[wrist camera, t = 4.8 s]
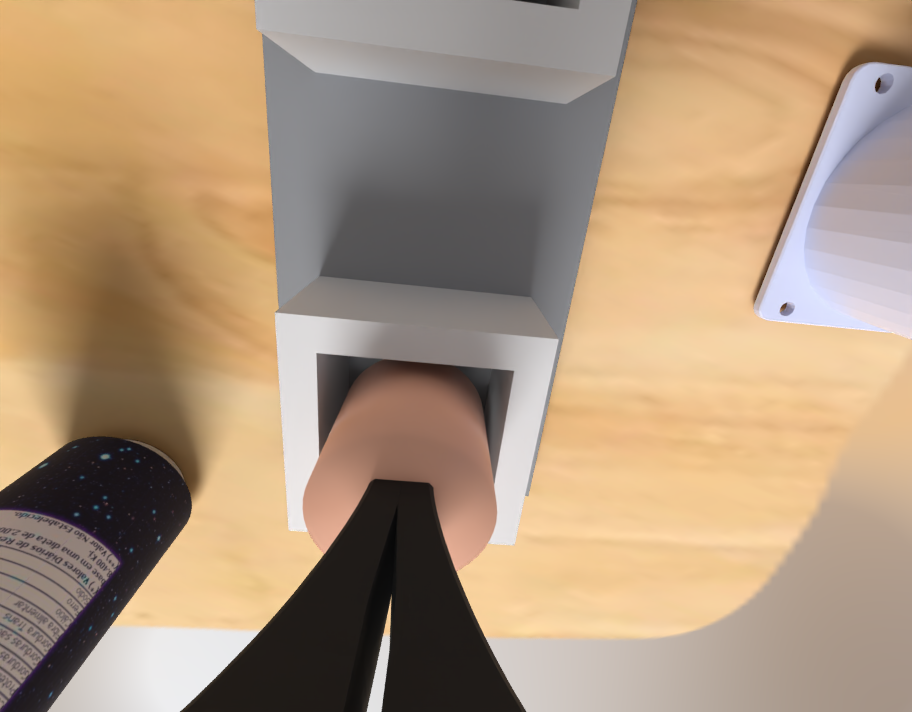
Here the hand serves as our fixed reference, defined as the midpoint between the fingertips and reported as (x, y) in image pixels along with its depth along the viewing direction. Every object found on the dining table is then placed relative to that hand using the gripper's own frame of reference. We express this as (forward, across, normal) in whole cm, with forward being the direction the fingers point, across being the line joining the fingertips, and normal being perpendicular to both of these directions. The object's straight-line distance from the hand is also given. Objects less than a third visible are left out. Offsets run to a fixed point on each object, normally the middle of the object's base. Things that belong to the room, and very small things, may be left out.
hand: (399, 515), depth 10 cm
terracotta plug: (+4, 0, 0) cm, 4 cm away
